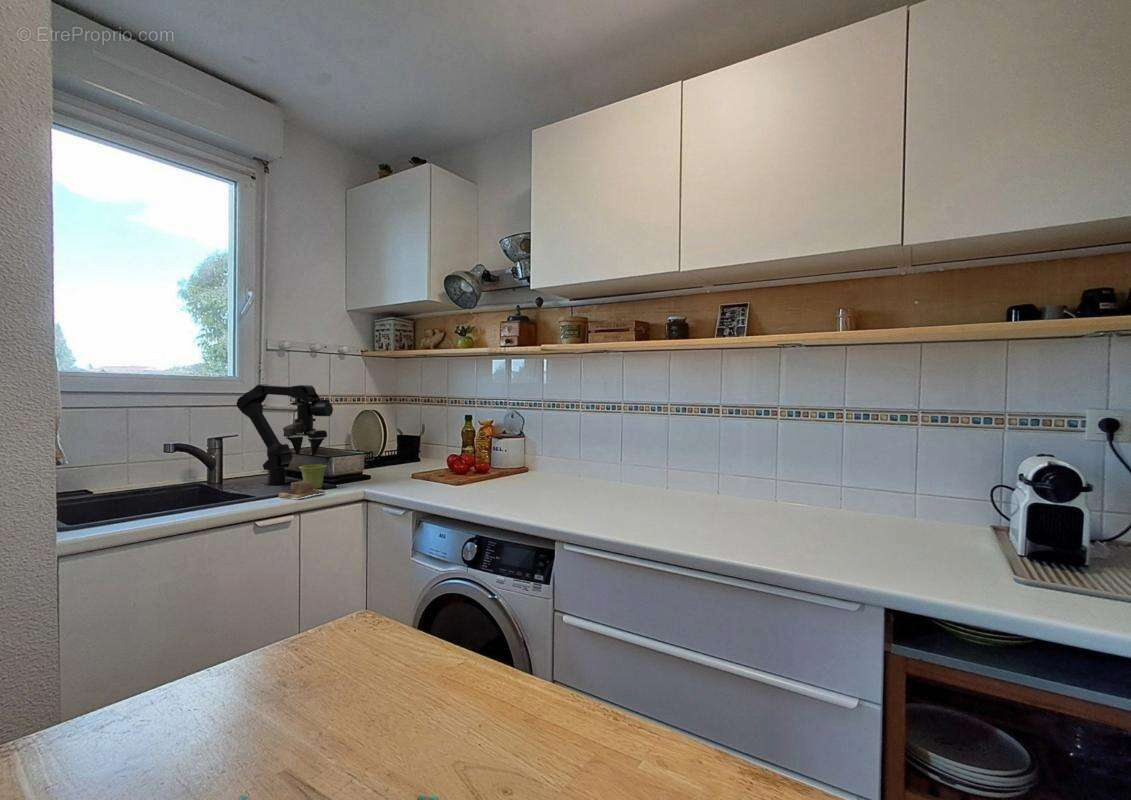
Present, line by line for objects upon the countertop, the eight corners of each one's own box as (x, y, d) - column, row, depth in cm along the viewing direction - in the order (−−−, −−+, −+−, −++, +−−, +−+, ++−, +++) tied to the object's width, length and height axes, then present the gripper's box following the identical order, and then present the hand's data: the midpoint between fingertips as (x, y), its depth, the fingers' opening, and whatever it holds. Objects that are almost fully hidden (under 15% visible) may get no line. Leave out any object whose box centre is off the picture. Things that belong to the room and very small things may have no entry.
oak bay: (278, 497, 181) (278, 493, 181) (306, 491, 191) (306, 487, 191) (297, 500, 177) (297, 495, 177) (324, 494, 187) (324, 490, 187)
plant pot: (300, 487, 201) (300, 465, 200) (326, 485, 204) (326, 464, 204) (298, 491, 192) (298, 468, 192) (326, 489, 196) (326, 467, 196)
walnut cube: (290, 496, 183) (290, 482, 183) (303, 494, 187) (303, 480, 187) (300, 498, 181) (300, 484, 181) (312, 495, 185) (312, 481, 185)
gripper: (271, 416, 202) (271, 455, 203) (303, 417, 194) (303, 458, 195) (296, 415, 212) (296, 452, 213) (328, 416, 204) (328, 455, 205)
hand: (305, 455), depth 206 cm, fingers open, 9 cm apart
